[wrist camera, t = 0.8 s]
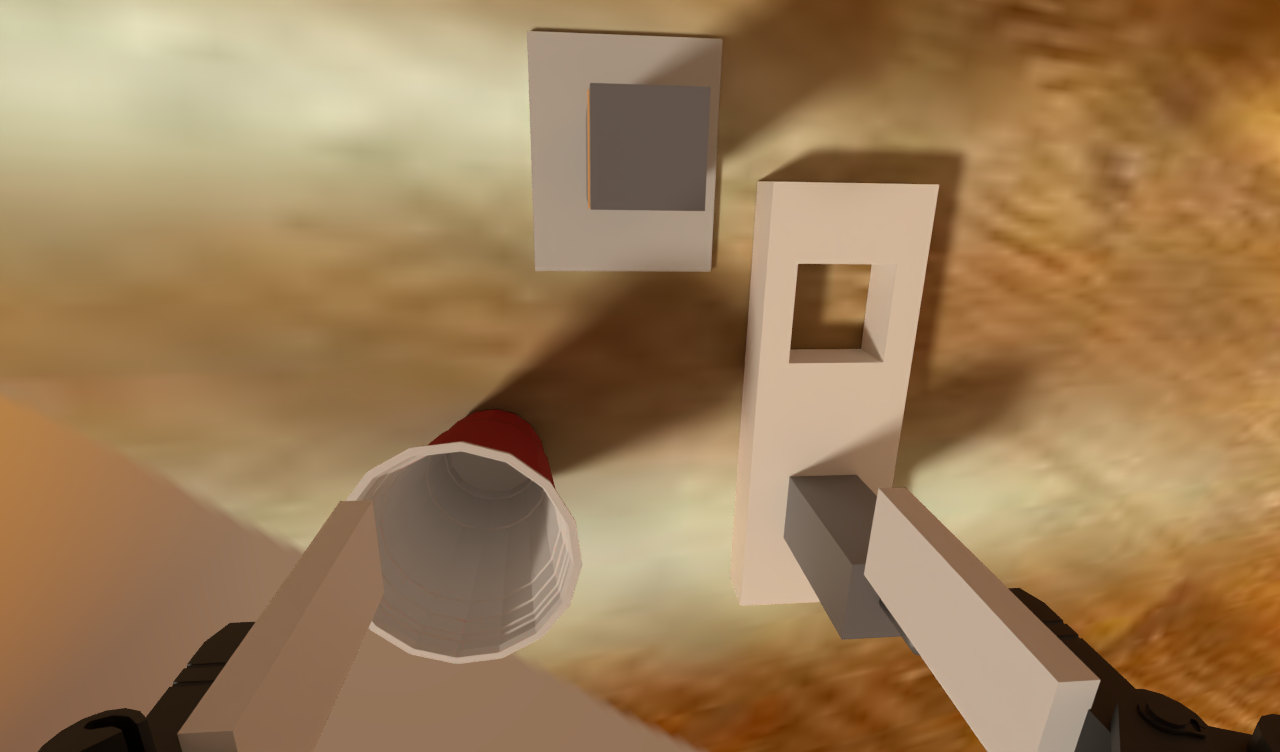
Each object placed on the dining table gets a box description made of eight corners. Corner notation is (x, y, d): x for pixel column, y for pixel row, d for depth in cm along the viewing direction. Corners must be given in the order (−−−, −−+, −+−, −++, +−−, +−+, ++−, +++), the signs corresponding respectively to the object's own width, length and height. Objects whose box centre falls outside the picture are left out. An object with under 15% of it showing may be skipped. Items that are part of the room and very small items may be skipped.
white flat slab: (527, 32, 32) (527, 31, 31) (720, 40, 33) (722, 38, 32) (535, 269, 35) (535, 270, 35) (709, 270, 36) (710, 271, 36)
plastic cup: (495, 327, 36) (457, 397, 25) (616, 454, 39) (632, 567, 28) (362, 443, 37) (268, 560, 26) (489, 556, 40) (455, 704, 29)
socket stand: (757, 181, 35) (881, 183, 21) (910, 184, 36) (1130, 187, 21) (729, 577, 43) (805, 776, 28) (855, 571, 44) (990, 762, 29)
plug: (585, 115, 33) (588, 80, 21) (665, 117, 33) (712, 85, 22) (585, 200, 34) (589, 210, 23) (663, 201, 34) (706, 212, 23)
